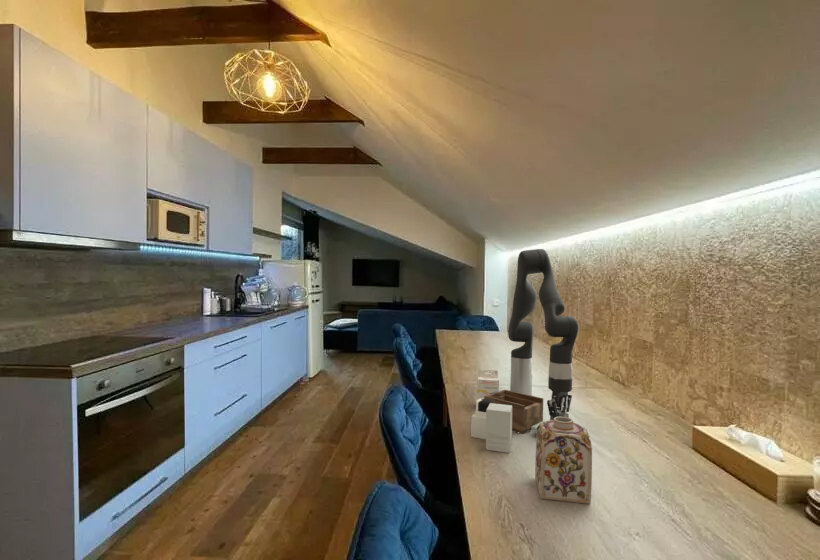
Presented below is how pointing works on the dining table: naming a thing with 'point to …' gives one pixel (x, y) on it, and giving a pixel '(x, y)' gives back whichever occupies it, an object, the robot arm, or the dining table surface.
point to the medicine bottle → (480, 418)
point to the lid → (549, 420)
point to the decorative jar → (563, 461)
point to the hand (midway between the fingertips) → (559, 426)
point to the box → (520, 408)
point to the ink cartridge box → (487, 383)
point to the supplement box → (499, 427)
